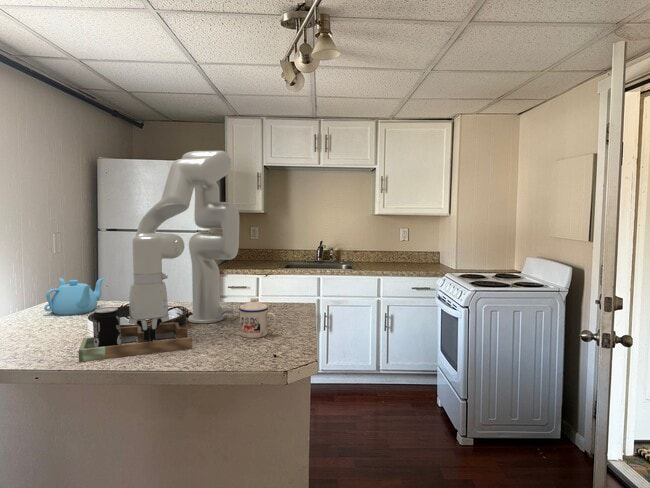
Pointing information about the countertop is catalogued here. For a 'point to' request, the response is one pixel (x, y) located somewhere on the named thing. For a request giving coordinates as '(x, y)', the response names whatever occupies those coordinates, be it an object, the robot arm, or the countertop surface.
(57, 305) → the teapot
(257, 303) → the teacup with lid
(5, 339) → the countertop surface
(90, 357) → the wooden tray
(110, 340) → the beverage can
